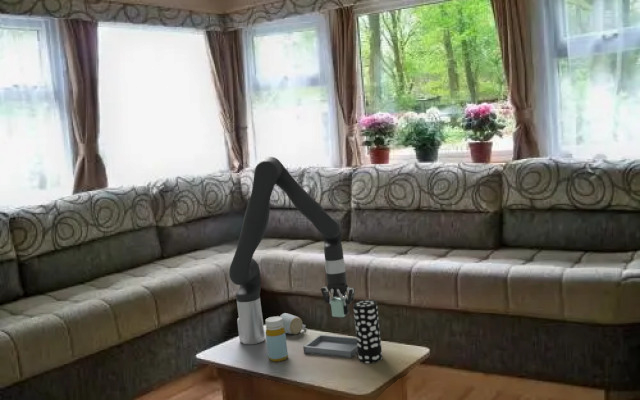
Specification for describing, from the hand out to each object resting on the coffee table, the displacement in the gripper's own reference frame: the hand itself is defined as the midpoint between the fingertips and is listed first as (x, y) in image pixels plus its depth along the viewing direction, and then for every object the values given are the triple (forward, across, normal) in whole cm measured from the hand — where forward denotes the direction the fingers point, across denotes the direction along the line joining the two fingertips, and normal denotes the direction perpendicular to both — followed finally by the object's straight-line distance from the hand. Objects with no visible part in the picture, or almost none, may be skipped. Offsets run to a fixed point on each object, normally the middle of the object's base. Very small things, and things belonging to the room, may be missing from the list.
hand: (340, 313), depth 249 cm
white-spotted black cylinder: (+11, +18, -14) cm, 26 cm away
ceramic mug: (+10, -24, +3) cm, 27 cm away
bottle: (+10, -15, -23) cm, 29 cm away
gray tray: (+10, +2, -10) cm, 14 cm away
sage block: (+1, 0, 0) cm, 1 cm away
